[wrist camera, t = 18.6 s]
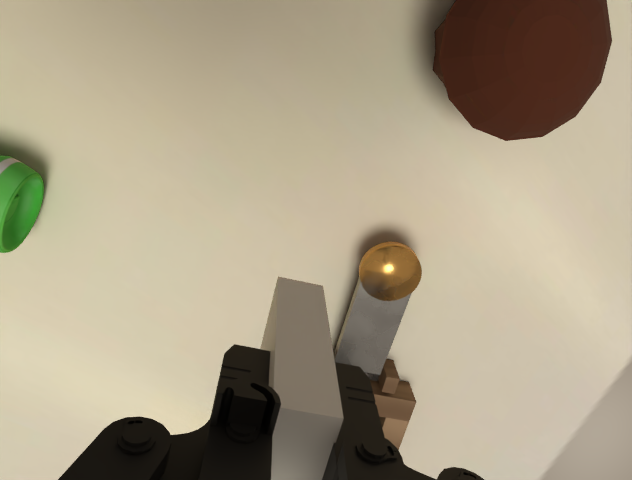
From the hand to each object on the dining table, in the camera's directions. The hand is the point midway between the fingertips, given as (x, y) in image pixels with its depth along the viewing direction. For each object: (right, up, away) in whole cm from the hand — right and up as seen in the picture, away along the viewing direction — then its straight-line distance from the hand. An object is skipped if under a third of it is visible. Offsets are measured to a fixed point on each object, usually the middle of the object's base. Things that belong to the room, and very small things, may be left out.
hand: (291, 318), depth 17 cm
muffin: (+14, +17, +23) cm, 32 cm away
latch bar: (+6, -4, +28) cm, 28 cm away
